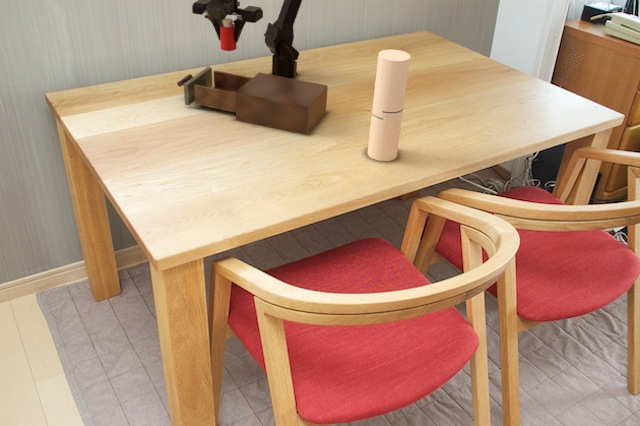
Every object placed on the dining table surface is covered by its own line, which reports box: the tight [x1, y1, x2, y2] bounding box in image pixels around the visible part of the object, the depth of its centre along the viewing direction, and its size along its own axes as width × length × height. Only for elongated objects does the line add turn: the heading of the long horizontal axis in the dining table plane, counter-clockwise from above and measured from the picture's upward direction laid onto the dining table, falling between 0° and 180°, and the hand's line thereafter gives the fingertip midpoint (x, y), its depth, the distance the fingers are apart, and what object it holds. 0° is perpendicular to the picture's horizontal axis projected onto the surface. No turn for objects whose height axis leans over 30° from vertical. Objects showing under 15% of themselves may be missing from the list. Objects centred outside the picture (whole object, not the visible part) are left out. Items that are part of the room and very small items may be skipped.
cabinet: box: [235, 72, 328, 136], centre depth 172 cm, size 20×15×8 cm
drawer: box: [177, 66, 253, 114], centre depth 176 cm, size 23×14×6 cm, turn 71°
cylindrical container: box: [367, 49, 411, 162], centre depth 153 cm, size 7×7×25 cm
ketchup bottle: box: [219, 18, 237, 52], centre depth 181 cm, size 4×4×8 cm
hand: (228, 41), depth 182 cm, fingers closed on ketchup bottle, 4 cm apart
